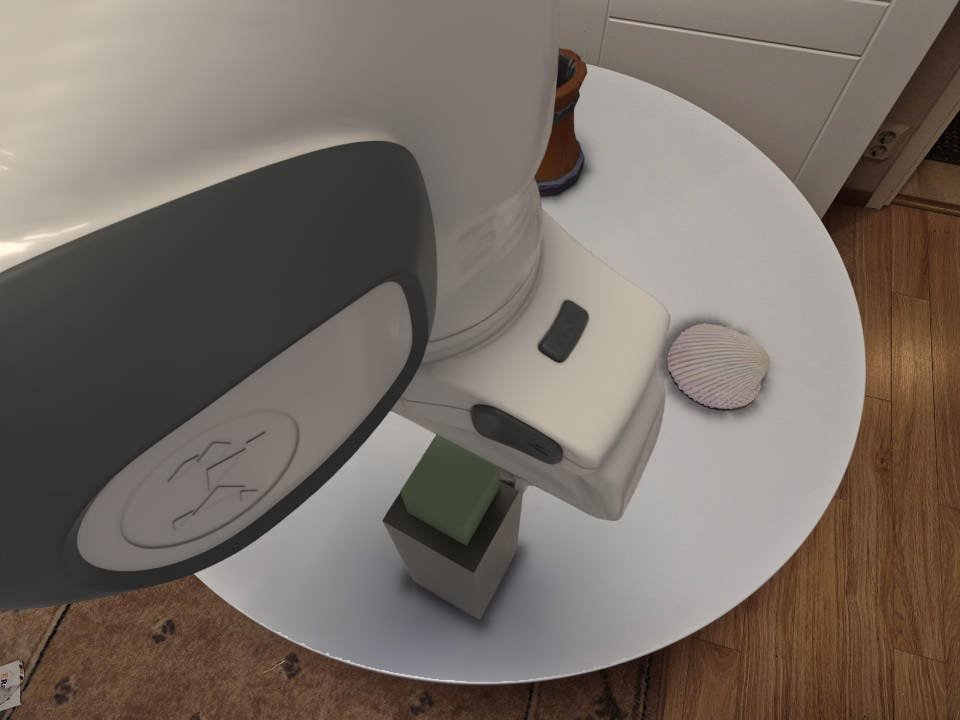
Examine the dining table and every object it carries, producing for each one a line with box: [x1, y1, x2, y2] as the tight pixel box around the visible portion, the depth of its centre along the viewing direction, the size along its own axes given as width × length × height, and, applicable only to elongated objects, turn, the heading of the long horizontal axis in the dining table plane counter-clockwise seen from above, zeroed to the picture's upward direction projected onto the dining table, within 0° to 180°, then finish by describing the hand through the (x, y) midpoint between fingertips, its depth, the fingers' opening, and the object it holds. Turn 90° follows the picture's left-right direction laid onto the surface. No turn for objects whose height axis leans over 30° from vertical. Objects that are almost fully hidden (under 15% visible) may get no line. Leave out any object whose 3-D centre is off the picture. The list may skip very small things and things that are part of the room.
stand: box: [381, 481, 524, 621], centre depth 54 cm, size 7×7×20 cm
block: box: [399, 434, 500, 546], centre depth 43 cm, size 4×4×4 cm
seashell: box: [666, 322, 772, 410], centre depth 71 cm, size 10×6×10 cm
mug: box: [534, 47, 589, 195], centre depth 81 cm, size 18×12×15 cm, turn 83°
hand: (439, 433), depth 36 cm, fingers open, 8 cm apart
